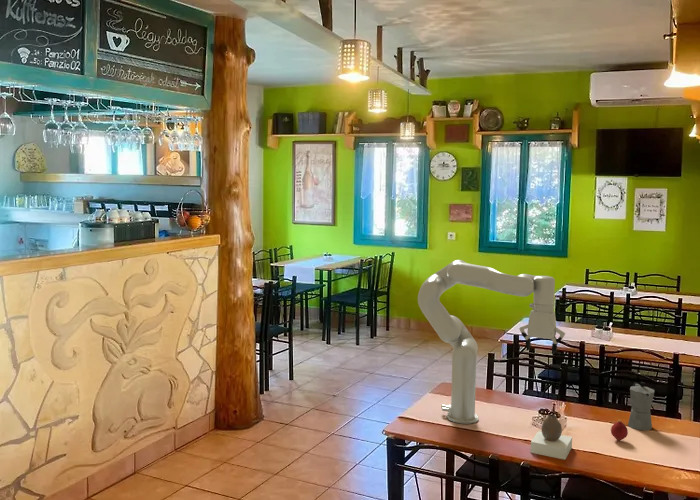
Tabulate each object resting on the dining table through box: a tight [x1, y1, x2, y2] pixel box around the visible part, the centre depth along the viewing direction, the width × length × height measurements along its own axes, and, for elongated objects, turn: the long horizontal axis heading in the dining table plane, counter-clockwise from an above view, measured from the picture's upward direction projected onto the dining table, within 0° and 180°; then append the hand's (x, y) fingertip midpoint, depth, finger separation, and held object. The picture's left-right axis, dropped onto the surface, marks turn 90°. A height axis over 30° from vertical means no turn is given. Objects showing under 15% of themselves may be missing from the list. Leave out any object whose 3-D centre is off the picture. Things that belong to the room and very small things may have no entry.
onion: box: [610, 419, 629, 442], centre depth 248 cm, size 6×6×8 cm
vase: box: [541, 414, 563, 441], centre depth 238 cm, size 7×7×9 cm
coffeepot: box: [627, 381, 655, 432], centre depth 264 cm, size 15×9×18 cm, turn 176°
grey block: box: [529, 430, 573, 460], centre depth 239 cm, size 12×12×4 cm
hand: (540, 351), depth 259 cm, fingers open, 9 cm apart
